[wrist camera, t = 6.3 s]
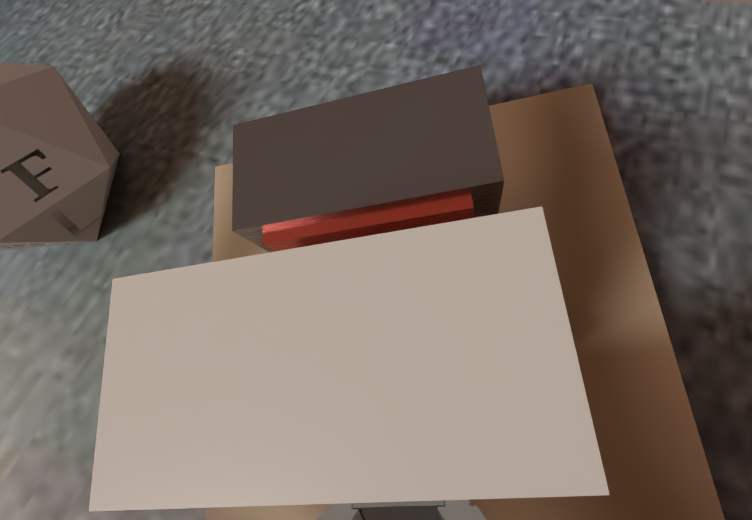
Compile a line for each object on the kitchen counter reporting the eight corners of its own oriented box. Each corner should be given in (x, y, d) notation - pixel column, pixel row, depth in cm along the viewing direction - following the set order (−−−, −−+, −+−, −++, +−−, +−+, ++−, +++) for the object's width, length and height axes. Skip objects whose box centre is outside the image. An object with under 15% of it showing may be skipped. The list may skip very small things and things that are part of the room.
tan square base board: (581, 107, 16) (610, 41, 13) (712, 562, 11) (810, 641, 8) (233, 181, 19) (185, 143, 16) (229, 562, 15) (159, 619, 11)
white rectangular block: (494, 309, 13) (541, 206, 5) (511, 404, 12) (609, 495, 4) (326, 330, 14) (112, 279, 6) (331, 418, 13) (88, 511, 5)
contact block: (476, 180, 15) (480, 64, 9) (492, 266, 14) (508, 197, 8) (317, 210, 16) (233, 125, 10) (321, 291, 15) (231, 246, 9)
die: (40, 303, 21) (-73, 274, 12) (-103, 185, 19) (-344, 59, 11) (165, 207, 24) (146, 133, 16) (52, 102, 23) (-38, -44, 14)
